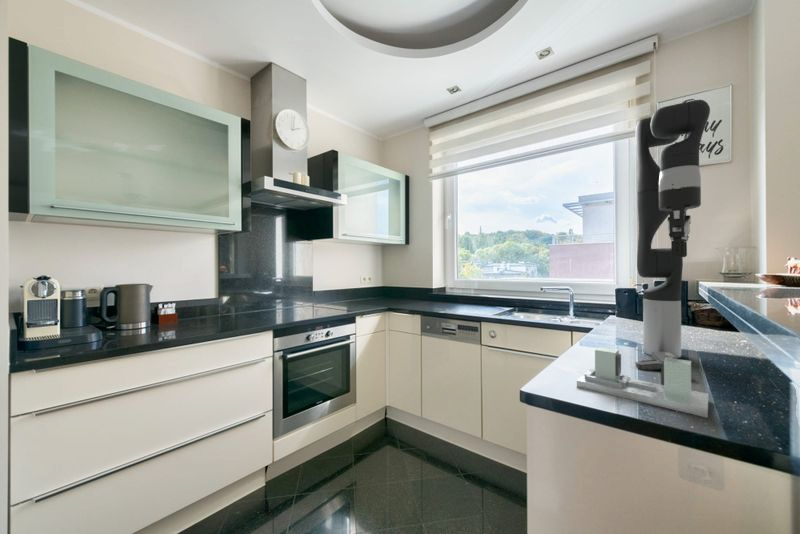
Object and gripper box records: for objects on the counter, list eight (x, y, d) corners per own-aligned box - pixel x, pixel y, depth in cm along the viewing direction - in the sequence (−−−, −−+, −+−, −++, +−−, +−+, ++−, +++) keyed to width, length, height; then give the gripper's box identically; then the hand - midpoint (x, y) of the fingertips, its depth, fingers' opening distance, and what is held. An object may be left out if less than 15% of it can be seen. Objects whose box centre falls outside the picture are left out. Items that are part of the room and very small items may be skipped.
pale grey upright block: (599, 375, 77) (598, 347, 77) (621, 380, 74) (621, 350, 74) (595, 379, 75) (594, 349, 75) (617, 384, 72) (617, 353, 72)
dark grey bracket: (640, 366, 83) (689, 365, 78) (628, 351, 97) (670, 349, 93) (642, 380, 83) (692, 380, 78) (631, 363, 97) (672, 362, 92)
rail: (588, 375, 82) (588, 342, 82) (708, 401, 66) (708, 360, 66) (576, 386, 75) (576, 350, 75) (707, 417, 59) (707, 371, 59)
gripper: (662, 195, 84) (662, 257, 84) (654, 186, 73) (655, 257, 74) (701, 190, 78) (702, 257, 78) (699, 180, 68) (699, 256, 68)
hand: (679, 257), depth 76 cm, fingers open, 8 cm apart
